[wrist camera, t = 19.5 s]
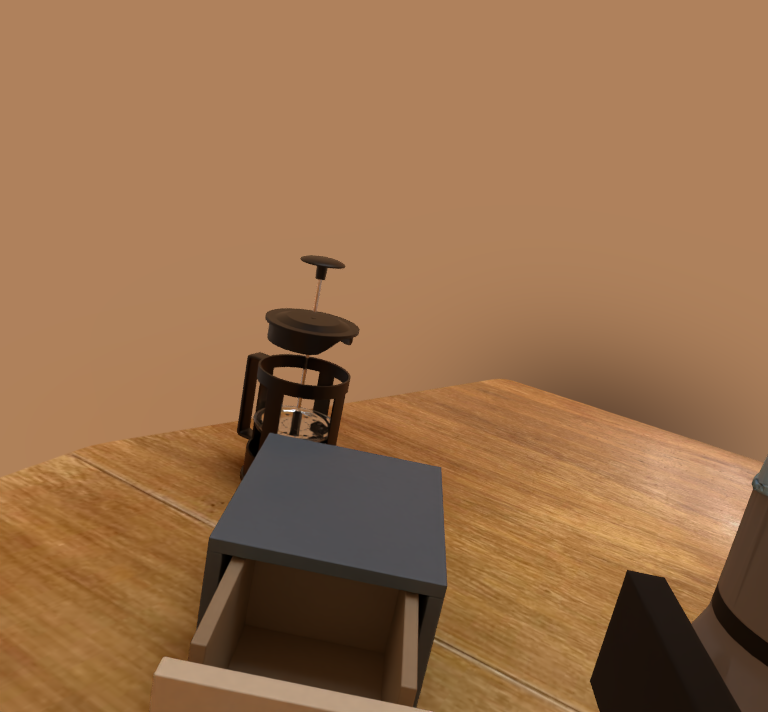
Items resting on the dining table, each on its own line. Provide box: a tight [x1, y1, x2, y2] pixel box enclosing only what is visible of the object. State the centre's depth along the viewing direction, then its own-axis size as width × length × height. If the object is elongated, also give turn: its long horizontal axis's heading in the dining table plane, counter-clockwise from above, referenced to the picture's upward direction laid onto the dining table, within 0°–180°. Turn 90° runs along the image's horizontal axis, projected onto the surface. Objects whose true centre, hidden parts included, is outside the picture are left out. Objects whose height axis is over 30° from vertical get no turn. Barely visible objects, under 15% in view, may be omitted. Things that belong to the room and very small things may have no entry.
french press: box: [237, 255, 359, 481], centre depth 67 cm, size 12×9×23 cm
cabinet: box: [196, 433, 447, 708], centre depth 48 cm, size 16×14×11 cm
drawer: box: [149, 556, 433, 712], centre depth 36 cm, size 19×13×9 cm, turn 179°
